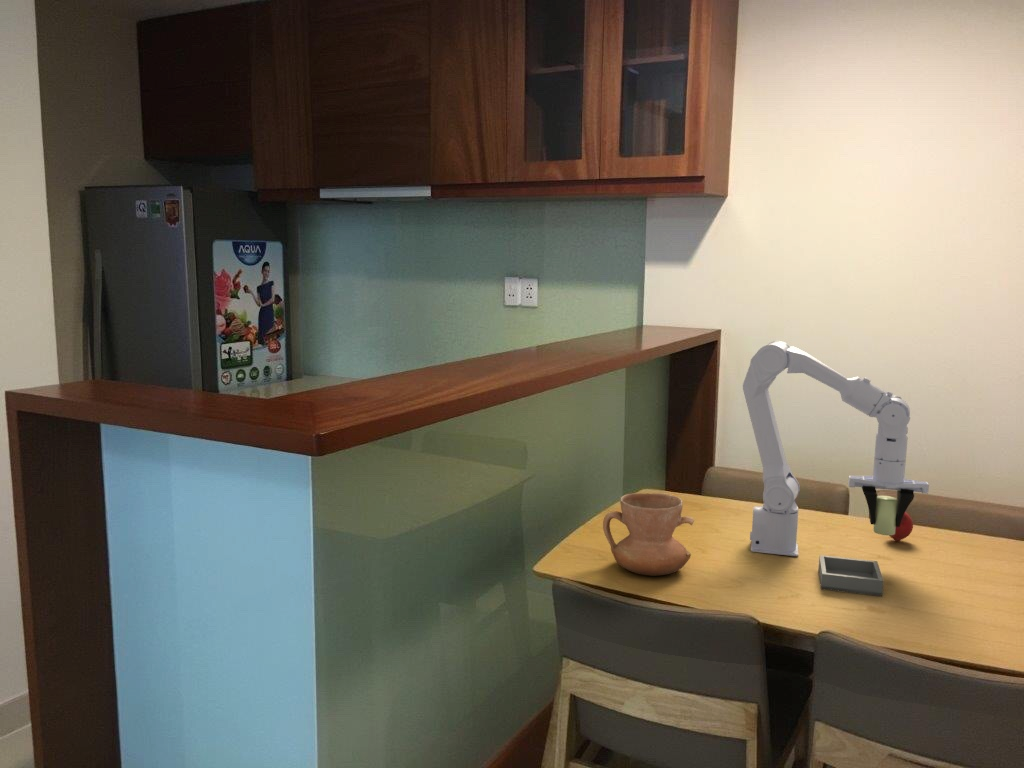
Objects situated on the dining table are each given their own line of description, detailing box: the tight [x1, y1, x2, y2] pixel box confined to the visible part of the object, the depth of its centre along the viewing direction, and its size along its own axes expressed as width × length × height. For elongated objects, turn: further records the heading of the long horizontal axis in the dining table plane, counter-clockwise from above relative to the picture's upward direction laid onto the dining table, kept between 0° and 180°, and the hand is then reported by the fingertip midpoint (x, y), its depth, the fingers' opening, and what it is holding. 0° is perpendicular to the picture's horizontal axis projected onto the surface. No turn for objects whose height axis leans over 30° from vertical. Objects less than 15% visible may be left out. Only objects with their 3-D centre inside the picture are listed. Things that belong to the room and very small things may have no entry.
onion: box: [888, 511, 914, 542], centre depth 184 cm, size 6×6×8 cm
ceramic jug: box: [602, 492, 695, 577], centre depth 166 cm, size 18×14×14 cm
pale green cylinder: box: [872, 495, 898, 536], centre depth 168 cm, size 4×4×7 cm
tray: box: [818, 554, 885, 597], centre depth 160 cm, size 11×11×3 cm
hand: (884, 524), depth 169 cm, fingers closed on pale green cylinder, 4 cm apart
